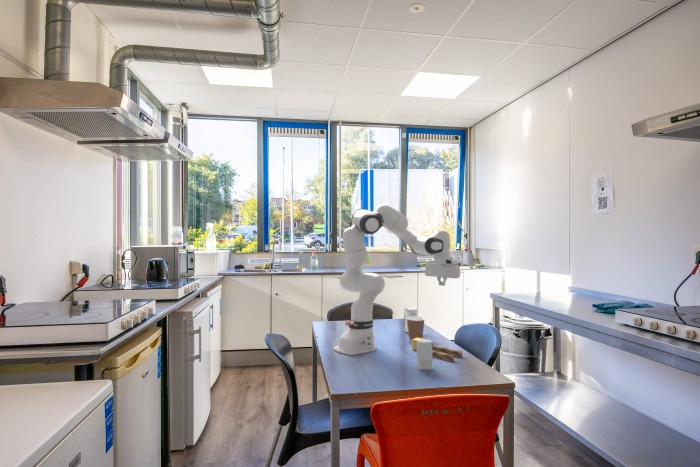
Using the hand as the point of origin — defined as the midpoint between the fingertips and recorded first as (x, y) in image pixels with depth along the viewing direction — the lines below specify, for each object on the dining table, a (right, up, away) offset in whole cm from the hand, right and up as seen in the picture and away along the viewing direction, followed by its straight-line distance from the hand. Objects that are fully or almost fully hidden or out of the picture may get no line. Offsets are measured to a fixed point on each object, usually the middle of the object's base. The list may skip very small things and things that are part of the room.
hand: (441, 285), depth 202 cm
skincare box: (-18, -31, -42) cm, 55 cm away
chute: (-6, -31, -23) cm, 39 cm away
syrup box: (-14, -32, +21) cm, 41 cm away
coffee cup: (-14, -31, +4) cm, 34 cm away
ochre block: (-15, -31, -15) cm, 37 cm away
